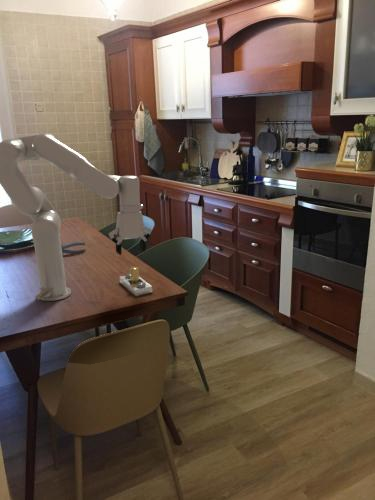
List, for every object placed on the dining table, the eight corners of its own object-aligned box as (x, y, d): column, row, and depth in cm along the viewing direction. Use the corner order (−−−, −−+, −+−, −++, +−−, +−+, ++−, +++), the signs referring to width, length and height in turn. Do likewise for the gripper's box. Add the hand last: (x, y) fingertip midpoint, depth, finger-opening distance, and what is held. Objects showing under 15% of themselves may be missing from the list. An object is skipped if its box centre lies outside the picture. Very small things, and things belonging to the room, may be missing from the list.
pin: (138, 289, 172) (137, 269, 170) (130, 288, 173) (128, 269, 171) (140, 285, 176) (139, 267, 173) (132, 285, 176) (131, 266, 174)
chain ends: (152, 292, 169) (151, 283, 168) (135, 296, 166) (134, 287, 165) (135, 279, 183) (135, 271, 182) (120, 282, 180) (119, 274, 179)
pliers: (45, 258, 215) (44, 246, 214) (45, 257, 217) (43, 245, 216) (86, 252, 223) (85, 241, 221) (85, 251, 224) (84, 240, 223)
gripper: (147, 205, 172) (147, 247, 177) (104, 209, 164) (106, 252, 169) (154, 208, 166) (155, 251, 171) (111, 212, 158) (113, 257, 163)
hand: (131, 252), depth 170 cm, fingers open, 9 cm apart
